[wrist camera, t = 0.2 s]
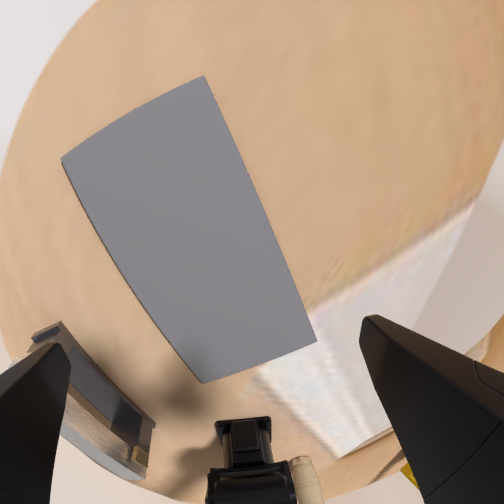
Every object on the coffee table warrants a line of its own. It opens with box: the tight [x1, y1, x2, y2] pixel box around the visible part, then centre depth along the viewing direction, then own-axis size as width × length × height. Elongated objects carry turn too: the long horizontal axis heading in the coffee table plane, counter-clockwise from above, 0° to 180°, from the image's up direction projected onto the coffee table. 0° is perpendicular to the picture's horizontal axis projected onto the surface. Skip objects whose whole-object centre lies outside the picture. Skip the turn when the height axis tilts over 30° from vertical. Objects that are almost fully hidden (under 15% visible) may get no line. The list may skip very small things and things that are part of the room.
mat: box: [60, 75, 317, 384], centre depth 22 cm, size 24×12×1 cm, turn 23°
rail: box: [9, 352, 147, 480], centre depth 20 cm, size 18×3×3 cm, turn 23°
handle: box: [292, 456, 325, 504], centre depth 30 cm, size 5×6×15 cm
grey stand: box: [27, 321, 156, 469], centre depth 23 cm, size 17×5×7 cm, turn 23°
